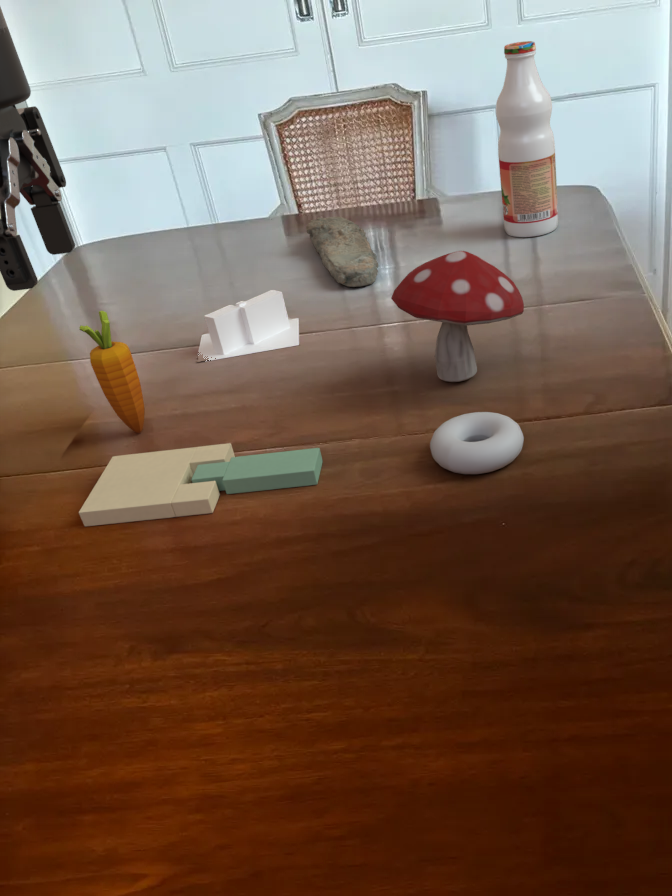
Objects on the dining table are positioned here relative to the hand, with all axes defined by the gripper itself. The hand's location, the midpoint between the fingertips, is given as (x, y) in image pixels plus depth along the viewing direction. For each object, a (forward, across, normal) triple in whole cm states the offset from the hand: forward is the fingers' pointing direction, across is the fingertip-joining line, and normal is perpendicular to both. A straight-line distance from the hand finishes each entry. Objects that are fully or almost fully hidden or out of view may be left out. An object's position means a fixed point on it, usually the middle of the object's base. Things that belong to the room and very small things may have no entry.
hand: (44, 269), depth 71 cm
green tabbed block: (+28, -13, +8) cm, 32 cm away
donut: (+28, -13, +32) cm, 45 cm away
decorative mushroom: (+28, -34, +31) cm, 54 cm away
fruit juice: (+28, -91, +43) cm, 105 cm away
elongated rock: (+28, -88, +10) cm, 93 cm away
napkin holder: (+28, -55, -1) cm, 62 cm away
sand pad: (+28, -13, -3) cm, 31 cm away
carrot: (+28, -28, -10) cm, 41 cm away
